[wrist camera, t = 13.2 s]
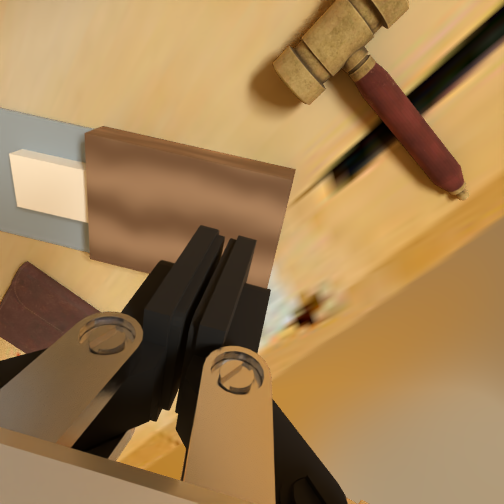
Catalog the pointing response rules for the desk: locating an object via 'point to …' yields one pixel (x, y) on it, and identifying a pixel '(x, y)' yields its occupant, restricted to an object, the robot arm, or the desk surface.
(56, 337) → the notebook
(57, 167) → the cream flat block
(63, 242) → the mat
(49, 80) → the desk surface
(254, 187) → the brown wooden board
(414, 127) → the gavel
